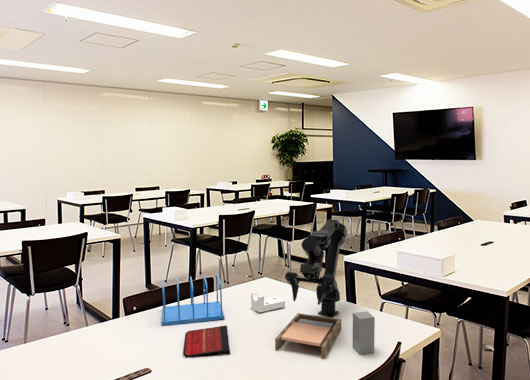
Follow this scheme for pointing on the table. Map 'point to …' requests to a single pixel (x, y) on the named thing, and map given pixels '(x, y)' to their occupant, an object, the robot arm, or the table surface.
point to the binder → (206, 342)
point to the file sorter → (192, 308)
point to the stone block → (363, 332)
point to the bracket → (265, 303)
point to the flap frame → (336, 322)
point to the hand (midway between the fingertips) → (306, 302)
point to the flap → (308, 332)
